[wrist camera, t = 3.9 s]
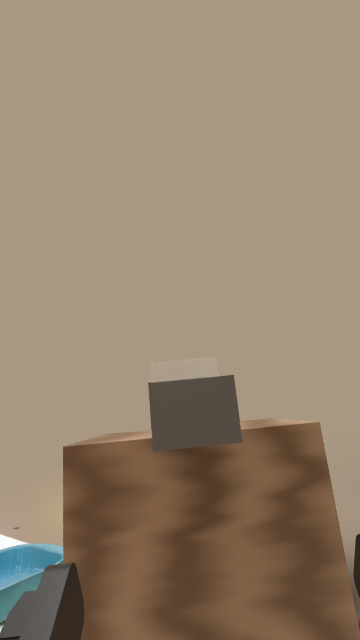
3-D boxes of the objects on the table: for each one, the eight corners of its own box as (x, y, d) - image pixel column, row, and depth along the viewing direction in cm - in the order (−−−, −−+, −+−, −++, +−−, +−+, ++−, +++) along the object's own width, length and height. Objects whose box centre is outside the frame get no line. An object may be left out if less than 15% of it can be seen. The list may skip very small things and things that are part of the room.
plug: (219, 425, 34) (212, 364, 35) (264, 440, 15) (245, 311, 17) (158, 430, 33) (154, 369, 35) (130, 453, 15) (123, 322, 17)
